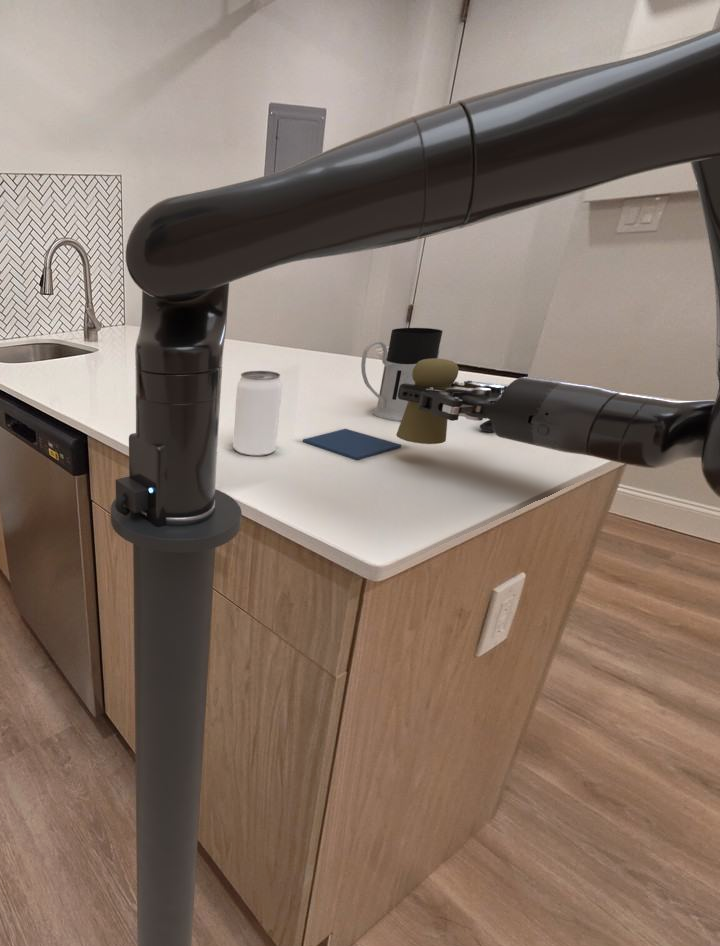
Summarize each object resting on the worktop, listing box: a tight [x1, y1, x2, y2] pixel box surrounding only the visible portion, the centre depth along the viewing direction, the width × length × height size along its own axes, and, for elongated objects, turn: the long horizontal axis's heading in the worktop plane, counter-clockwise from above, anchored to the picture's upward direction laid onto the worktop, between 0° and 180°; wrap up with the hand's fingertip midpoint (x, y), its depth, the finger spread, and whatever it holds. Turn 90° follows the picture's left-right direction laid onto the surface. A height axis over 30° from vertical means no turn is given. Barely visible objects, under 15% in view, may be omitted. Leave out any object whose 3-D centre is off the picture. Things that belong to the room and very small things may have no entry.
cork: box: [395, 357, 460, 445], centre depth 72 cm, size 6×6×11 cm
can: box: [232, 370, 283, 457], centre depth 80 cm, size 6×6×12 cm
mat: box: [302, 428, 402, 461], centre depth 83 cm, size 10×10×1 cm
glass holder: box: [360, 327, 443, 422], centre depth 92 cm, size 9×14×15 cm, turn 102°
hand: (411, 388), depth 74 cm, fingers closed on cork, 4 cm apart
